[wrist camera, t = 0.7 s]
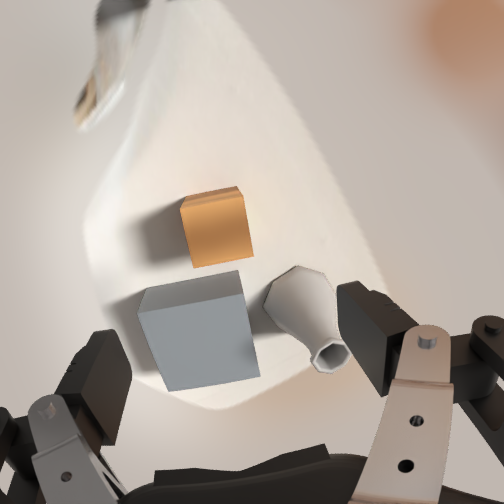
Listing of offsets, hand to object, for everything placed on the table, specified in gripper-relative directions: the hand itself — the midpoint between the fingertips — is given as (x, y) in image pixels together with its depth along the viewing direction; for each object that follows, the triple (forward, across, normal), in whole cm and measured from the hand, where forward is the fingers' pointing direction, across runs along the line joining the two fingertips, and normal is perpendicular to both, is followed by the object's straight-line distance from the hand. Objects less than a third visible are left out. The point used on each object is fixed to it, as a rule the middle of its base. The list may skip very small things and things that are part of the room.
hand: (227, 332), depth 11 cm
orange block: (+19, 0, 0) cm, 19 cm away
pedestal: (+19, +4, +10) cm, 21 cm away
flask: (+19, -6, +10) cm, 22 cm away
